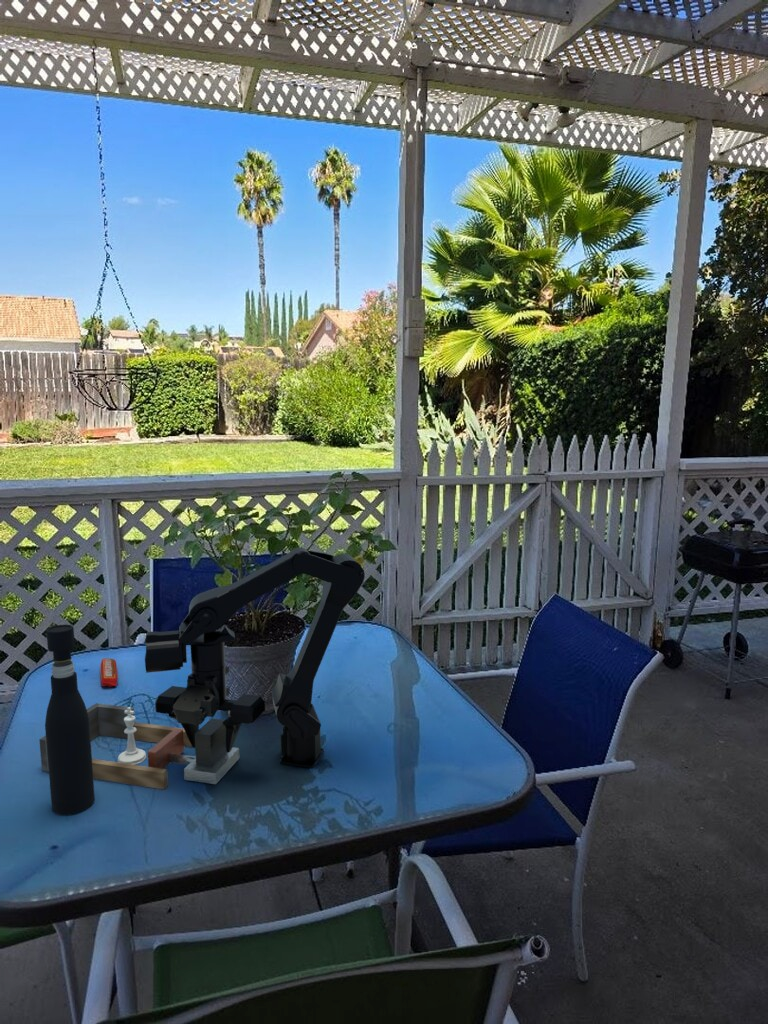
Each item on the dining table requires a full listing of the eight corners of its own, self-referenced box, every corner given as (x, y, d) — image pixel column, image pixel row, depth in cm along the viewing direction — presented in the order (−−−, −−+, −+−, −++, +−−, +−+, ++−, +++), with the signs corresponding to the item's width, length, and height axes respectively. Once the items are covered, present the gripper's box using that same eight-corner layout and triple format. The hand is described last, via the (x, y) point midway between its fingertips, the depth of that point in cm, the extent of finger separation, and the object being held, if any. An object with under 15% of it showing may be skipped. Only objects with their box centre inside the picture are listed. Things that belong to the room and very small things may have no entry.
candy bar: (118, 689, 157) (117, 676, 157) (101, 691, 156) (100, 679, 155) (116, 665, 172) (115, 654, 171) (100, 667, 171) (99, 656, 170)
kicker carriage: (239, 758, 125) (238, 717, 124) (215, 784, 116) (213, 740, 115) (176, 749, 128) (174, 709, 127) (148, 774, 120) (146, 731, 118)
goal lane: (208, 746, 130) (207, 716, 129) (164, 789, 115) (162, 756, 114) (98, 731, 136) (96, 703, 135) (42, 770, 121) (39, 739, 120)
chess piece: (136, 767, 123) (133, 714, 121) (112, 764, 124) (108, 712, 122) (151, 753, 127) (148, 703, 126) (127, 751, 128) (124, 701, 127)
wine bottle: (50, 819, 107) (35, 637, 102) (52, 798, 113) (38, 624, 108) (95, 810, 109) (82, 631, 105) (94, 789, 115) (82, 619, 111)
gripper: (133, 678, 113) (139, 765, 115) (236, 689, 108) (239, 780, 111) (170, 655, 124) (174, 735, 126) (265, 664, 119) (267, 747, 121)
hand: (212, 749), depth 121 cm, fingers open, 6 cm apart
